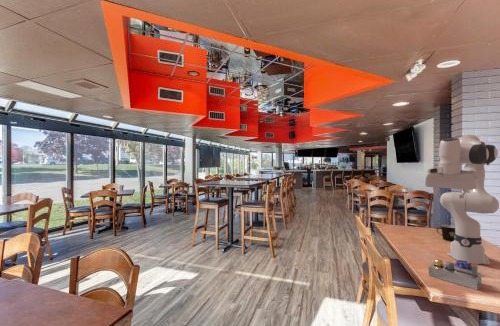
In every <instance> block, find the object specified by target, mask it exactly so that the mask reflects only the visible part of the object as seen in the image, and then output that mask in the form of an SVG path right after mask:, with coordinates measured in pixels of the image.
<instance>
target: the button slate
mask: <svg viewBox="0 0 500 326" xmlns="http://www.w3.org/2000/svg"><path fill="white" fill-rule="evenodd" d="M445 264H446V269H448V270H451V271H454V266H455V263H454V262H452V261H446V262H445Z"/></svg>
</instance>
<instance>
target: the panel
mask: <svg viewBox="0 0 500 326" xmlns="http://www.w3.org/2000/svg"><path fill="white" fill-rule="evenodd" d="M428 276H430V277H433V278H435V279H439V280H442V281H446V282H449V283H453V284H456V285H458V286H463V287H466V288H469V289H473V290H475V291H478V289H479V288H480V286H481V284H482V273H481V272H478V275H477V276H472V271H470V270H466V269H462V268H458V267H454V271H451V270H448V269H446V263H443V268H440V267H436V266H435V261H433V262H432V263H431V264H429V266H428Z"/></svg>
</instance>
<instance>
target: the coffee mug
mask: <svg viewBox="0 0 500 326" xmlns="http://www.w3.org/2000/svg"><path fill="white" fill-rule="evenodd" d="M439 229H441V233H440V232H439V231H438V230H439ZM436 232H437V233H438V234H439V235H440V236H441V237H442V240H443V241H446V242H453V241H454V240H455V239H454V234H455V225H450V224H441V225H440V227H437V229H436Z"/></svg>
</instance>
